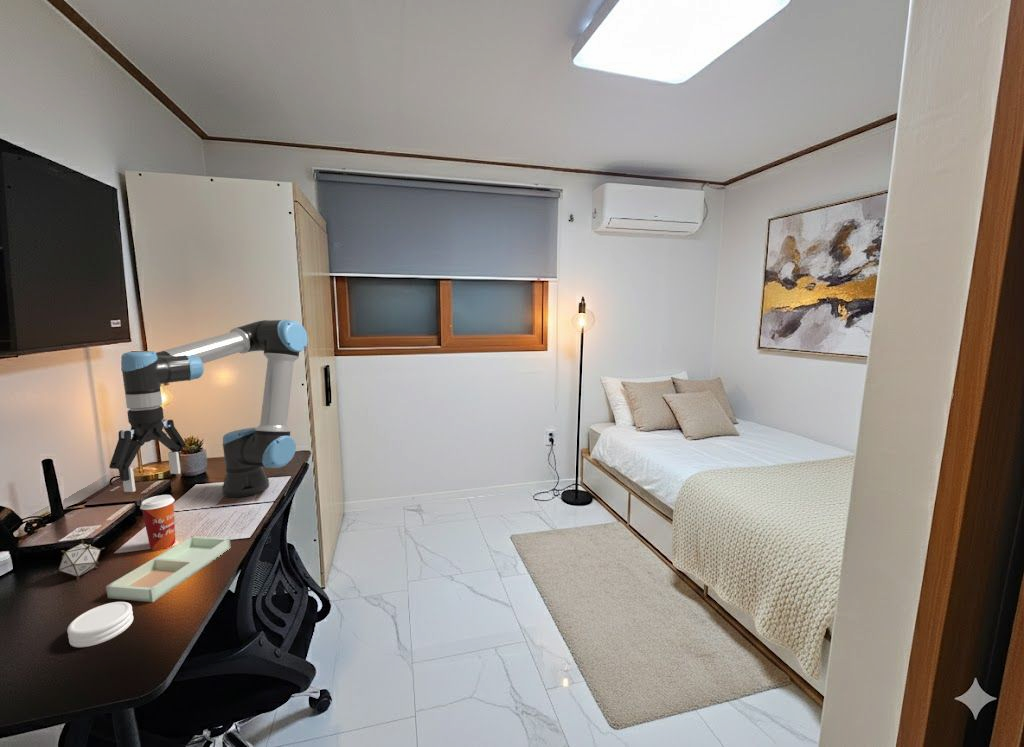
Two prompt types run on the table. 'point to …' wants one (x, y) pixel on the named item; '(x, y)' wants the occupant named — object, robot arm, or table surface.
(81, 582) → the table surface
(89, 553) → the game die
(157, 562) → the mint green tray
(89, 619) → the coaster
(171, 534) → the paper cup
